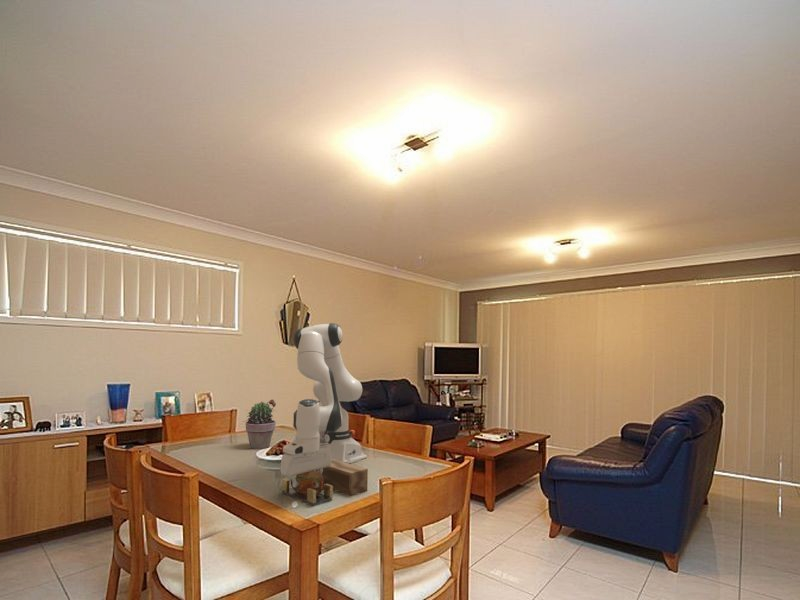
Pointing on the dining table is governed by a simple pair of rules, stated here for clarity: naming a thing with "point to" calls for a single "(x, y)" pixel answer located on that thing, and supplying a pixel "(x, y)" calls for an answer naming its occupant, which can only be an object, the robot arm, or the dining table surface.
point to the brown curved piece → (309, 482)
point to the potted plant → (260, 425)
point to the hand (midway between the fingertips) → (306, 483)
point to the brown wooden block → (346, 477)
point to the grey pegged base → (308, 494)
